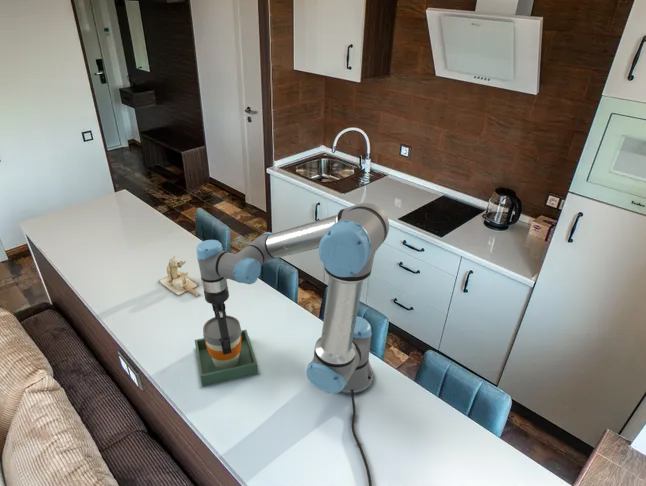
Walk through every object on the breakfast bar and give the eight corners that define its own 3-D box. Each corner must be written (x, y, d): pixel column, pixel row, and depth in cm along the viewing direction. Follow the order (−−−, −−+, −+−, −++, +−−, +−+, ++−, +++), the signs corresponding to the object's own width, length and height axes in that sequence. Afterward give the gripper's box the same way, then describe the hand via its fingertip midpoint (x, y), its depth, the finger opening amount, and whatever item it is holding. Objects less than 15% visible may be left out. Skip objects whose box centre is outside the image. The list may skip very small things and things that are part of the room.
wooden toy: (159, 281, 200) (153, 254, 193) (179, 272, 206) (174, 246, 198) (185, 302, 187) (179, 274, 179) (206, 292, 192) (202, 265, 185)
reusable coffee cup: (230, 342, 164) (225, 310, 156) (251, 360, 157) (248, 326, 148) (200, 360, 157) (194, 326, 149) (222, 378, 149) (217, 344, 141)
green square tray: (258, 373, 152) (257, 363, 149) (202, 386, 147) (200, 376, 145) (247, 339, 167) (246, 329, 164) (196, 349, 162) (194, 339, 160)
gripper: (234, 307, 131) (242, 362, 142) (221, 265, 151) (229, 316, 163) (208, 313, 129) (218, 367, 141) (199, 270, 149) (208, 320, 161)
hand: (224, 340), depth 152 cm, fingers open, 13 cm apart
